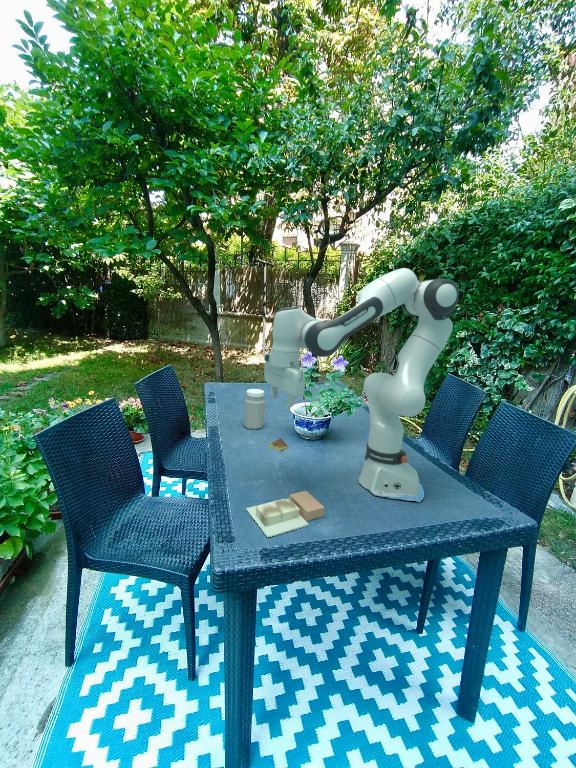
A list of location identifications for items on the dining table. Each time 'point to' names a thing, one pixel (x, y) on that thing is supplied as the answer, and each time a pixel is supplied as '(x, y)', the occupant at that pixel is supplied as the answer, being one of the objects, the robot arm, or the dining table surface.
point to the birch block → (277, 511)
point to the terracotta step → (307, 505)
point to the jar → (254, 409)
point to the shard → (278, 445)
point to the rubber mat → (280, 526)
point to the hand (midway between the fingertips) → (281, 402)
